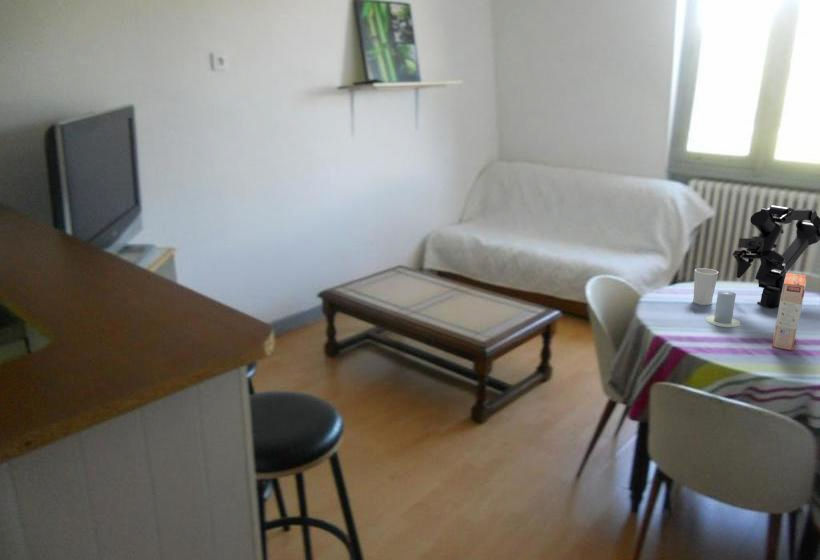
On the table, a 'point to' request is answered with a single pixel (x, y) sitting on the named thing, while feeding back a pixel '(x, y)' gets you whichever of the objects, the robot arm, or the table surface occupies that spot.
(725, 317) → the grey cylinder
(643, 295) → the table surface
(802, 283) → the cracker box
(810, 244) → the robot arm
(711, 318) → the mat
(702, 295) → the cup
